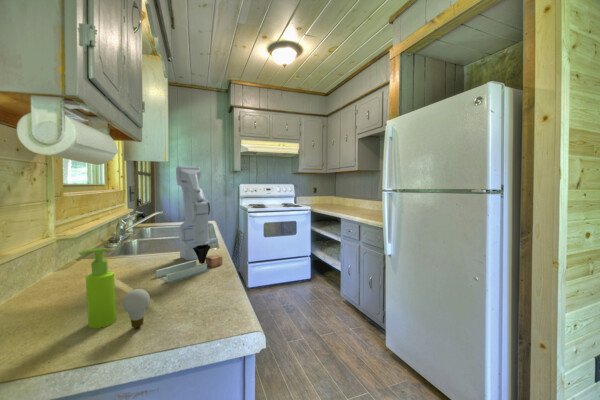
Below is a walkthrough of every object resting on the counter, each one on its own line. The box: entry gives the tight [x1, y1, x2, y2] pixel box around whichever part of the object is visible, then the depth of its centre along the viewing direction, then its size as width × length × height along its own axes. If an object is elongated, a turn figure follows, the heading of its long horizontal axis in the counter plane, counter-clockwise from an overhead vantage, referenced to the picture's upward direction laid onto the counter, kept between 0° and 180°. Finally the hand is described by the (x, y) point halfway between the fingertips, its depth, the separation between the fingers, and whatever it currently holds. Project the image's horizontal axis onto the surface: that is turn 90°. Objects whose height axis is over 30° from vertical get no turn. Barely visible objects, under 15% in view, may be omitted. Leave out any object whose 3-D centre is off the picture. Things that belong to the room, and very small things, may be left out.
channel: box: [154, 259, 210, 284], centre depth 103 cm, size 12×16×4 cm
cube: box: [205, 254, 223, 268], centre depth 114 cm, size 5×5×5 cm
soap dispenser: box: [78, 247, 117, 329], centre depth 70 cm, size 6×7×20 cm
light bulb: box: [122, 288, 151, 329], centre depth 68 cm, size 6×6×10 cm
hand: (201, 263), depth 110 cm, fingers closed
